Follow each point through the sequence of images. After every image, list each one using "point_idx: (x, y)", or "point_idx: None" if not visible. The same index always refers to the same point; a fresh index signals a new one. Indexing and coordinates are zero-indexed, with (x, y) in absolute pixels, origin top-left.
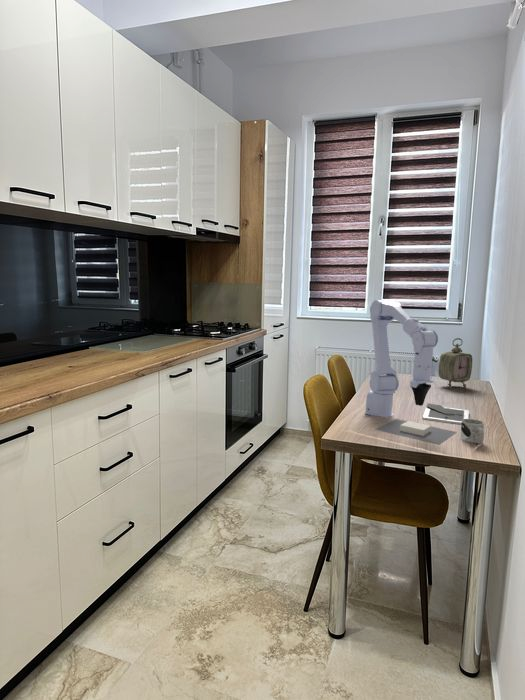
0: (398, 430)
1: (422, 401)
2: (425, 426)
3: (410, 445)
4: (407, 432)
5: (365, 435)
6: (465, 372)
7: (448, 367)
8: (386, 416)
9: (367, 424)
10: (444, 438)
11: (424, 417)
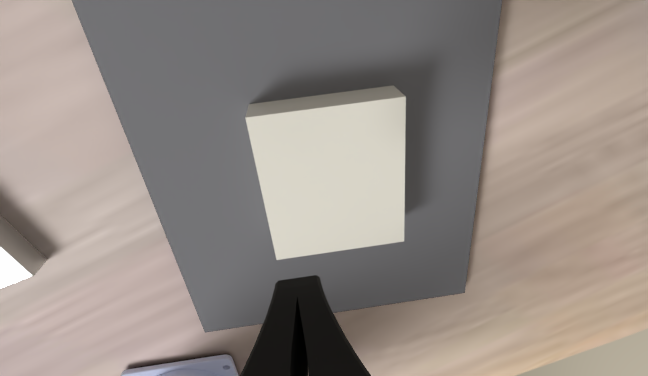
0: None
1: (327, 307)
2: (301, 134)
3: (591, 58)
4: None
5: (551, 272)
6: None
7: None
8: (214, 368)
9: (386, 346)
10: None
11: (25, 267)
